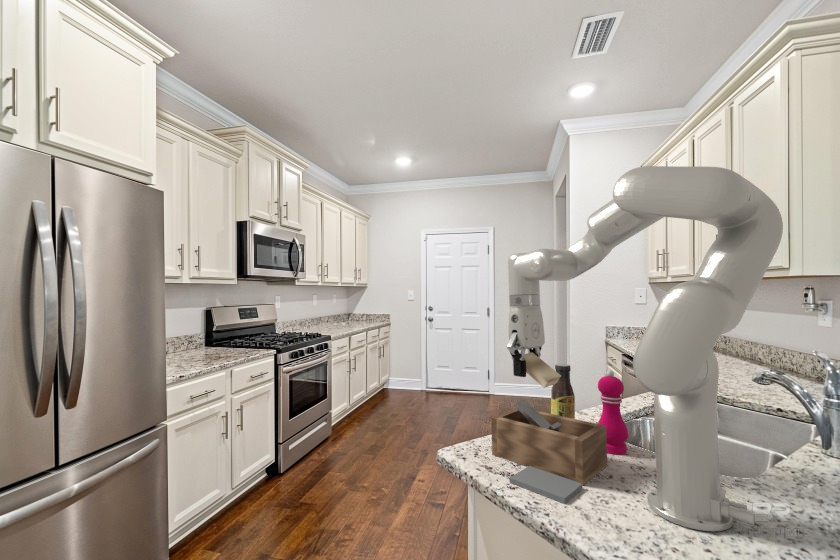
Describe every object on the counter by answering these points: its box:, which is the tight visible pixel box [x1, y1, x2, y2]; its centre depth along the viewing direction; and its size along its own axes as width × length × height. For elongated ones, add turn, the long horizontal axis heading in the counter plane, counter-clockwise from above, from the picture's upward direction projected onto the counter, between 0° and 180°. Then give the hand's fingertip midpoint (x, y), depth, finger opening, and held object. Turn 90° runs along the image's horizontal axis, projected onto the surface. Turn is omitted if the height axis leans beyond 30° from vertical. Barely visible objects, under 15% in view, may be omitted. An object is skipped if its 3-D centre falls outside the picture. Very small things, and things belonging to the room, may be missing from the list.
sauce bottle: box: [550, 363, 576, 419], centre depth 108 cm, size 6×6×20 cm
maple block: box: [524, 352, 561, 388], centre depth 95 cm, size 9×6×2 cm
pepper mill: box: [597, 369, 629, 456], centre depth 98 cm, size 7×7×20 cm
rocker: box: [513, 399, 561, 432], centre depth 92 cm, size 18×6×4 cm
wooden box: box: [490, 407, 608, 486], centre depth 93 cm, size 23×13×9 cm, turn 44°
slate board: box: [508, 466, 584, 504], centre depth 80 cm, size 12×8×1 cm, turn 44°
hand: (527, 373), depth 97 cm, fingers closed on maple block, 6 cm apart
